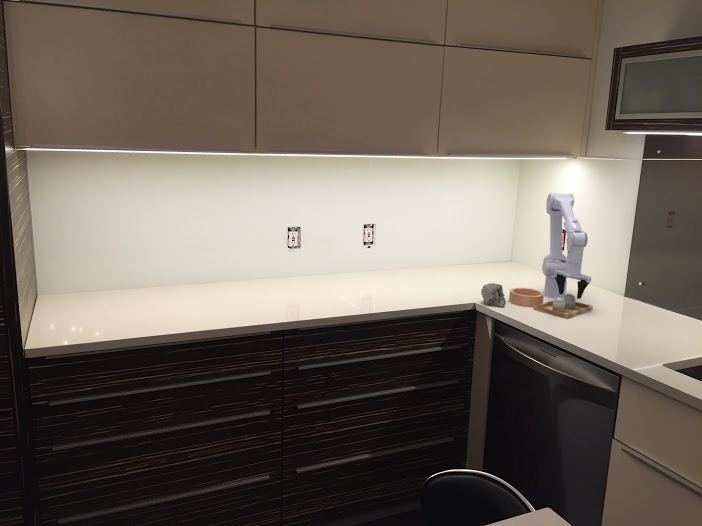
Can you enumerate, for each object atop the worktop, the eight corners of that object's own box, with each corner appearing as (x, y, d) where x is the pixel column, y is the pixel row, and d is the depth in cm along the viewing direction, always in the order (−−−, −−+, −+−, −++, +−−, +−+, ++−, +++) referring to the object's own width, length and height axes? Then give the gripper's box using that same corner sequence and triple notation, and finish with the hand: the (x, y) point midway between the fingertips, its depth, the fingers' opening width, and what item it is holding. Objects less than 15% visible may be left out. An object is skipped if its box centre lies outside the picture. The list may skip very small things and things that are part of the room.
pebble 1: (555, 309, 239) (557, 295, 238) (566, 312, 236) (567, 297, 234) (549, 311, 236) (551, 296, 235) (560, 313, 233) (562, 299, 232)
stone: (508, 281, 241) (482, 278, 244) (505, 301, 236) (479, 298, 238) (506, 294, 249) (481, 291, 251) (503, 315, 243) (478, 311, 245)
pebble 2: (566, 305, 244) (567, 292, 243) (576, 308, 241) (578, 294, 240) (560, 307, 241) (562, 293, 240) (570, 310, 238) (572, 296, 237)
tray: (560, 302, 250) (560, 297, 250) (592, 311, 240) (593, 306, 240) (533, 311, 237) (534, 305, 237) (566, 320, 227) (567, 314, 227)
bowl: (520, 297, 257) (521, 286, 256) (548, 304, 247) (550, 293, 246) (502, 302, 248) (503, 290, 247) (531, 310, 238) (532, 298, 237)
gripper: (551, 260, 240) (548, 293, 243) (586, 267, 229) (582, 301, 232) (561, 258, 244) (557, 291, 247) (595, 265, 234) (591, 299, 237)
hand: (570, 296), depth 240 cm, fingers open, 7 cm apart
